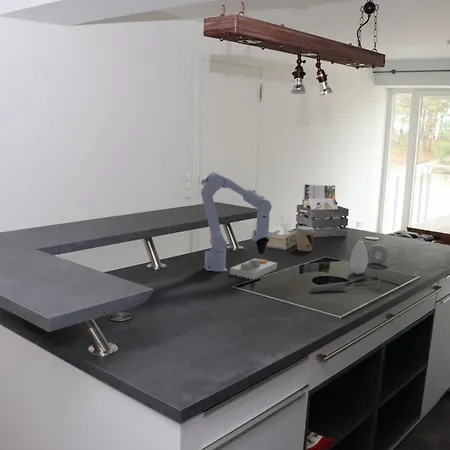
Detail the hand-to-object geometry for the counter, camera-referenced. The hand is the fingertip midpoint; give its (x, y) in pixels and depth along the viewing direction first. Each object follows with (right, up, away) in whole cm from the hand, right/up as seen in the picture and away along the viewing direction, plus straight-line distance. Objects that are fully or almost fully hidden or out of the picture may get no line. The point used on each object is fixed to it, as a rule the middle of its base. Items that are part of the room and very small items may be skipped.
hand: (261, 253), depth 252 cm
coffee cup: (+26, 0, +43) cm, 50 cm away
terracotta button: (0, -6, +2) cm, 6 cm away
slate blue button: (-3, -6, -4) cm, 8 cm away
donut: (+59, -6, +19) cm, 62 cm away
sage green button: (-7, -7, -10) cm, 14 cm away
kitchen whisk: (+33, -14, -25) cm, 44 cm away
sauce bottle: (+45, -10, 0) cm, 46 cm away
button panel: (-4, -8, -4) cm, 10 cm away
